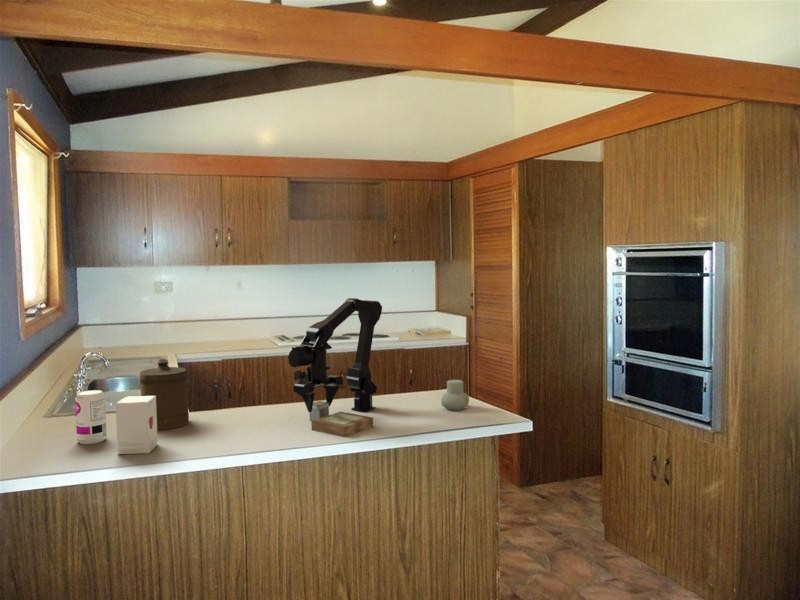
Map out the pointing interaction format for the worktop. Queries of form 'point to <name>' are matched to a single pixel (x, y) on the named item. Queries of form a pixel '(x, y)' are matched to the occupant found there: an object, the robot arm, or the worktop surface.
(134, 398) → the supplement box
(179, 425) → the wooden container
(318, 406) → the grey box
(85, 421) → the supplement can
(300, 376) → the robot arm
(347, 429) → the platform
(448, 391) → the air freshener
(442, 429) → the worktop surface
